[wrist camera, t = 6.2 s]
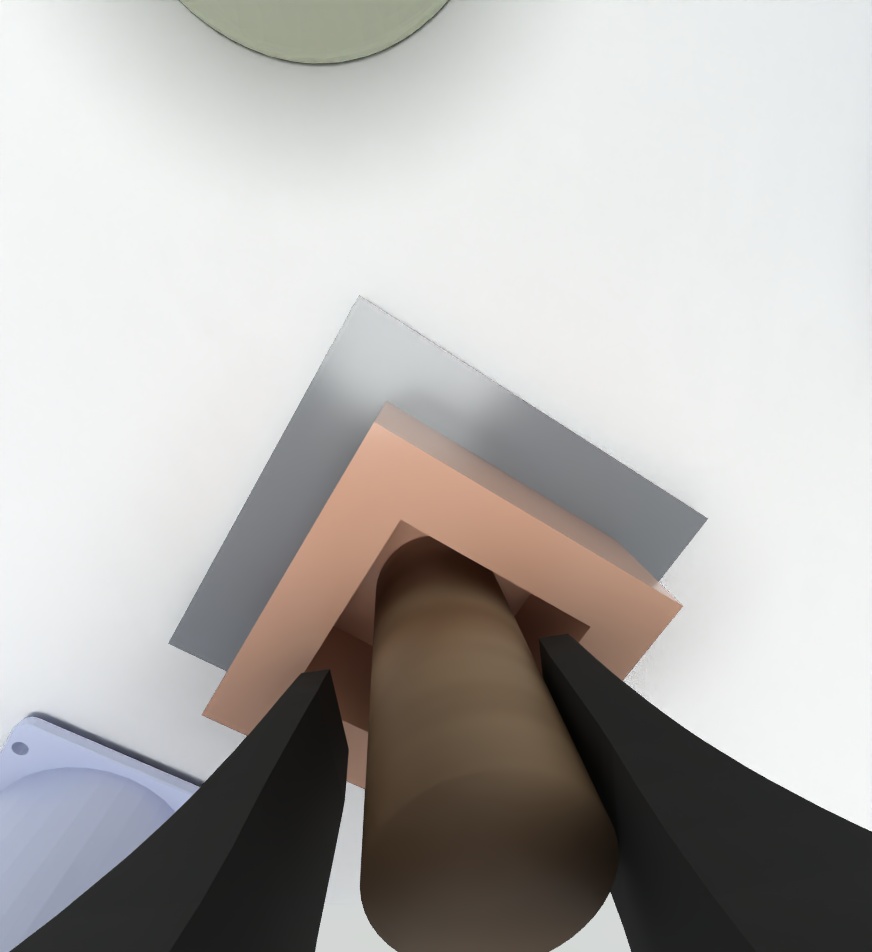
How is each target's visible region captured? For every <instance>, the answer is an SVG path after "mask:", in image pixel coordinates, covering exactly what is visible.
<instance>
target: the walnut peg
mask: <svg viewBox="0 0 872 952" xmlns="http://www.w3.org/2000/svg"><path fill="white" fill-rule="evenodd" d="M618 858H619V851H618V841H617V837H616V833H615V829H614V827H613V825H612V823H611V821H610V818H609V816H608V814H607V812H606V810H605V808H604V806H603V804H602V801H601V799H600V797H599V795H598V793H597V791H596V789H595V787H594V785H593V782H592V780H591V778H590V776H589V774H588V772H587V770H586V768H585V765H584V763H583V761H582V759H581V757H580V755H579V753H578V751H577V749H576V746H575V744H574V742H573V740H572V738H571V736H570V734H569V732H568V730H567V727H566V725H565V723H564V721H563V719H562V717H561V715H560V713H559V710H558V708H557V706H556V704H555V702H554V700H553V698H552V696H551V694H550V691H549V689H548V687H547V685H546V683H545V681H544V679H543V677H542V674H541V672H540V670H539V668H538V666H537V664H536V662H535V660H534V658H533V655H532V653H531V651H530V649H529V647H528V645H527V643H526V641H525V639H524V636H523V634H522V632H521V630H520V628H519V626H518V624H517V622H516V619H515V617H514V615H513V613H512V611H511V609H510V607H509V605H508V603H507V600H506V598H505V596H504V594H503V592H502V590H501V588H500V586H499V583H498V581H497V579H496V577H495V575H494V573H493V571H491V570H489V569H487V568H486V567H484V566H482V565H480V564H478V563H477V562H475V561H473V560H471V559H470V558H468V557H466V556H464V555H463V554H461V553H459V552H457V551H455V550H454V549H452V548H450V547H448V546H447V545H445V544H443V543H441V542H440V541H438V540H436V539H434V538H432V537H431V536H427V537H422V538H419V539H416V540H413V541H411V542H409V543H407V544H405V545H404V546H402V547H400V548H399V549H398V550H397V551H395V552H394V553H393V554H392V555H391V556H390V557H389V558H388V560H387V561H386V563H385V564H384V566H383V568H382V569H381V571H380V574H379V577H378V580H377V585H376V598H375V616H374V635H373V653H372V672H371V690H370V709H369V727H368V746H367V764H366V783H365V801H364V820H363V838H362V857H361V875H360V892H361V901H362V904H363V908H364V911H365V914H366V916H367V918H368V920H369V922H370V924H371V925H372V927H373V928H374V929H375V931H376V932H377V934H378V935H379V936H380V937H381V938H382V939H383V940H384V941H385V942H386V943H387V944H388V945H389V946H391V947H392V948H393V949H395V950H396V951H397V952H549V951H551V950H553V949H555V948H556V947H558V946H560V945H561V944H563V943H564V942H566V941H567V940H569V939H570V938H572V937H573V936H574V935H575V934H576V933H578V932H579V931H580V930H581V929H582V928H583V927H585V925H586V924H587V923H588V922H589V921H590V920H591V919H592V918H593V917H594V916H595V915H596V913H597V912H598V910H599V909H600V908H601V906H602V905H603V903H604V902H605V900H606V898H607V896H608V894H609V893H610V891H611V888H612V885H613V883H614V880H615V877H616V872H617V868H618Z"/></svg>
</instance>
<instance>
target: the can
mask: <svg viewBox="0 0 872 952" xmlns="http://www.w3.org/2000/svg"><path fill="white" fill-rule="evenodd" d="M180 1H181V2H182V3H183V4H184V5H185V6H186V7H187V8H188V9H189V10H190V11H191V12H192V13H194V14H195V15H196V16H197V17H199V18H200V19H201V20H203V21H204V22H205V23H206V24H208V25H209V26H211V27H212V28H214V29H215V30H217V31H218V32H220V33H221V34H223V35H225V36H226V37H228V38H229V39H231V40H233V41H235V42H237V43H239V44H241V45H243V46H245V47H247V48H250V49H252V50H255V51H257V52H260V53H263V54H265V55H268V56H271V57H276V58H280V59H284V60H289V61H294V62H303V63H311V64H312V63H335V62H344V61H348V60H353V59H357V58H361V57H366V56H369V55H371V54H374V53H377V52H379V51H382V50H384V49H386V48H388V47H390V46H392V45H394V44H396V43H398V42H399V41H401V40H403V39H405V38H406V37H408V36H409V35H410V34H412V33H413V32H415V31H416V30H417V29H419V28H420V27H421V26H423V25H424V24H425V23H426V22H427V21H428V20H429V19H430V18H432V17H433V16H434V15H435V14H436V13H437V12H438V11H439V10H440V9H441V8H442V7H443V5H444V4H445V3H446V2H447V1H448V0H180Z"/></svg>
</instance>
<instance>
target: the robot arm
mask: <svg viewBox="0 0 872 952" xmlns="http://www.w3.org/2000/svg"><path fill="white" fill-rule="evenodd" d="M539 646H540V656H541V666H542V675H543V679H544V681H545V683H546V685H547V687H548V689H549V691H550V694H551V696H552V698H553V700H554V702H555V704H556V706H557V708H558V710H559V713H560V715H561V717H562V719H563V721H564V723H565V725H566V727H567V730H568V732H569V734H570V736H571V738H572V740H573V742H574V744H575V746H576V749H577V751H578V753H579V755H580V757H581V759H582V761H583V763H584V765H585V768H586V770H587V772H588V774H589V776H590V778H591V780H592V782H593V785H594V787H595V789H596V791H597V793H598V795H599V797H600V799H601V801H602V804H603V806H604V808H605V810H606V812H607V814H608V816H609V818H610V821H611V823H612V825H613V827H614V829H615V833H616V837H617V841H618V851H619V858H618V868H617V872H616V877H615V880H614V883H613V885H612V888H611V891H610V892H611V894H612V897H613V900H614V902H615V905H616V908H617V911H618V913H619V916H620V918H621V922H622V924H623V927H624V930H625V933H626V936H627V939H628V943H629V946H630V949H631V952H872V832H871V831H869V830H867V829H865V828H862V827H860V826H858V825H856V824H854V823H852V822H850V821H848V820H846V819H844V818H842V817H840V816H838V815H836V814H834V813H831V812H829V811H827V810H825V809H823V808H821V807H819V806H817V805H815V804H814V803H812V802H810V801H808V800H806V799H804V798H802V797H800V796H798V795H797V794H795V793H793V792H791V791H789V790H787V789H785V788H783V787H781V786H780V785H778V784H776V783H774V782H772V781H770V780H768V779H767V778H765V777H763V776H761V775H760V774H758V773H756V772H754V771H753V770H751V769H749V768H747V767H746V766H744V765H742V764H741V763H739V762H737V761H736V760H734V759H732V758H731V757H729V756H728V755H726V754H724V753H723V752H721V751H719V750H718V749H716V748H715V747H713V746H711V745H710V744H708V743H706V742H705V741H703V740H702V739H700V738H699V737H697V736H696V735H694V734H693V733H691V732H690V731H688V730H687V729H685V728H684V727H682V726H681V725H680V724H678V723H677V722H675V721H674V720H673V719H671V718H670V717H668V716H667V715H666V714H664V713H663V712H662V711H660V710H659V709H658V708H656V707H655V706H654V705H652V704H651V703H650V702H648V701H647V700H646V699H645V698H643V697H642V696H641V695H640V694H638V693H637V692H636V691H635V690H633V689H632V688H631V687H630V686H628V685H627V684H626V683H625V682H623V681H622V680H621V679H620V678H618V677H617V676H616V675H615V674H614V673H613V672H611V671H610V670H609V669H608V668H607V667H606V666H604V665H603V664H602V663H601V662H600V661H599V660H597V659H596V658H595V657H594V656H593V655H592V654H591V653H590V652H588V651H587V650H586V649H585V648H584V647H583V646H582V645H581V644H580V643H579V642H577V641H576V640H575V639H574V638H573V637H572V636H570V635H569V634H563V635H556V636H549V637H542V638H539ZM348 755H349V748H348V744H347V739H346V735H345V731H344V727H343V722H342V718H341V714H340V710H339V705H338V701H337V697H336V692H335V688H334V684H333V680H332V675H331V671H330V669H326V670H319V671H312V672H306V673H301V674H300V675H299V676H298V677H297V678H296V679H295V681H294V682H293V683H292V684H291V685H290V686H289V688H288V689H287V690H286V691H285V692H284V693H283V695H282V696H281V697H280V698H279V699H278V701H277V702H276V703H275V704H274V705H273V707H272V708H271V709H270V710H269V711H268V713H267V714H266V715H265V716H264V717H263V718H262V720H261V721H260V722H259V723H258V724H257V725H256V727H255V728H254V729H253V730H252V731H251V732H250V733H249V735H248V736H247V737H246V738H245V739H244V740H243V742H242V743H241V744H240V745H239V746H238V747H237V748H236V750H235V751H234V752H233V753H232V754H231V755H230V756H229V757H228V758H227V759H226V760H225V761H224V762H223V763H222V764H221V766H220V767H219V768H218V769H217V770H216V771H215V772H214V773H213V774H212V775H211V776H210V777H209V778H208V779H207V780H206V781H205V783H204V784H203V785H202V786H201V787H199V786H196V785H194V784H192V783H189V782H187V781H185V780H182V779H180V778H178V777H175V776H173V775H171V774H168V773H166V772H164V771H161V770H159V769H157V768H154V767H152V766H150V765H147V764H145V763H143V762H140V761H138V760H136V759H133V758H131V757H129V756H126V755H124V754H122V753H119V752H117V751H115V750H112V749H110V748H108V747H105V746H103V745H101V744H98V743H96V742H94V741H91V740H89V739H87V738H84V737H82V736H80V735H77V734H75V733H73V732H70V731H68V730H66V729H63V728H61V727H59V726H56V725H54V724H52V723H49V722H47V721H45V720H42V719H40V718H36V717H27V718H24V719H22V720H21V721H20V722H19V723H18V724H17V725H16V726H15V727H14V728H13V729H12V730H11V732H10V734H9V737H8V739H7V741H6V743H5V745H4V747H3V749H2V751H1V753H0V952H315V947H316V942H317V937H318V931H319V927H320V922H321V917H322V912H323V907H324V902H325V897H326V892H327V887H328V882H329V877H330V872H331V868H332V863H333V858H334V853H335V848H336V843H337V838H338V833H339V827H340V822H341V817H342V812H343V807H344V801H345V790H346V780H347V767H348Z"/></svg>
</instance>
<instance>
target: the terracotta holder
mask: <svg viewBox="0 0 872 952" xmlns="http://www.w3.org/2000/svg"><path fill="white" fill-rule="evenodd" d="M707 519H708V518H706V517H705V516H703V515H701V514H700V513H698V512H697V511H695V510H694V509H692V508H691V507H689V506H687V505H686V504H684V503H683V502H681V501H680V500H678V499H676V498H675V497H673V496H672V495H670V494H669V493H667V492H666V491H664V490H662V489H661V488H659V487H658V486H656V485H655V484H653V483H652V482H650V481H648V480H647V479H645V478H644V477H642V476H641V475H639V474H637V473H636V472H634V471H633V470H631V469H630V468H628V467H627V466H625V465H623V464H622V463H620V462H619V461H617V460H616V459H614V458H612V457H611V456H609V455H608V454H606V453H605V452H603V451H602V450H600V449H598V448H597V447H595V446H594V445H592V444H591V443H589V442H587V441H586V440H584V439H583V438H581V437H580V436H578V435H577V434H575V433H573V432H572V431H570V430H569V429H567V428H566V427H564V426H562V425H561V424H559V423H558V422H556V421H555V420H553V419H552V418H550V417H548V416H547V415H545V414H544V413H542V412H541V411H539V410H537V409H536V408H534V407H533V406H531V405H530V404H528V403H527V402H525V401H523V400H522V399H520V398H519V397H517V396H516V395H514V394H513V393H511V392H509V391H508V390H506V389H505V388H503V387H502V386H500V385H498V384H497V383H495V382H494V381H492V380H491V379H489V378H488V377H486V376H484V375H483V374H481V373H480V372H478V371H477V370H475V369H473V368H472V367H470V366H469V365H467V364H466V363H464V362H463V361H461V360H459V359H458V358H456V357H455V356H453V355H452V354H450V353H448V352H447V351H445V350H444V349H442V348H441V347H439V346H438V345H436V344H434V343H433V342H431V341H430V340H428V339H427V338H425V337H423V336H422V335H420V334H419V333H417V332H416V331H414V330H413V329H411V328H409V327H408V326H406V325H405V324H403V323H402V322H400V321H399V320H397V319H395V318H394V317H392V316H391V315H389V314H388V313H386V312H384V311H383V310H381V309H380V308H378V307H377V306H375V305H374V304H372V303H370V302H369V301H367V300H366V299H364V298H363V297H361V296H358V298H357V300H356V302H355V304H354V305H353V307H352V309H351V311H350V313H349V315H348V316H347V318H346V320H345V322H344V324H343V326H342V327H341V329H340V331H339V333H338V335H337V336H336V338H335V340H334V342H333V344H332V346H331V347H330V349H329V351H328V353H327V355H326V357H325V358H324V360H323V362H322V364H321V366H320V367H319V369H318V371H317V373H316V375H315V377H314V378H313V380H312V382H311V384H310V386H309V388H308V389H307V391H306V393H305V395H304V397H303V399H302V400H301V402H300V404H299V406H298V408H297V409H296V411H295V413H294V415H293V417H292V419H291V420H290V422H289V424H288V426H287V428H286V430H285V431H284V433H283V435H282V437H281V439H280V440H279V442H278V444H277V446H276V448H275V450H274V451H273V453H272V455H271V457H270V459H269V461H268V462H267V464H266V466H265V468H264V470H263V472H262V473H261V475H260V477H259V479H258V481H257V482H256V484H255V486H254V488H253V490H252V492H251V493H250V495H249V497H248V499H247V501H246V503H245V504H244V506H243V508H242V510H241V512H240V513H239V515H238V517H237V519H236V521H235V523H234V524H233V526H232V528H231V530H230V532H229V534H228V535H227V537H226V539H225V541H224V543H223V545H222V546H221V548H220V550H219V552H218V554H217V555H216V557H215V559H214V561H213V563H212V565H211V566H210V568H209V570H208V572H207V574H206V576H205V577H204V579H203V581H202V583H201V585H200V586H199V588H198V590H197V592H196V594H195V596H194V597H193V599H192V601H191V603H190V605H189V607H188V608H187V610H186V612H185V614H184V616H183V618H182V619H181V621H180V623H179V625H178V627H177V628H176V630H175V632H174V634H173V636H172V638H171V639H170V641H169V643H168V644H171V645H173V646H175V647H177V648H179V649H181V650H183V651H185V652H187V653H190V654H192V655H194V656H196V657H198V658H200V659H202V660H204V661H206V662H208V663H211V664H213V665H215V666H217V667H219V668H221V669H223V670H225V671H227V673H226V674H225V676H224V678H223V680H222V681H221V683H220V685H219V686H218V688H217V690H216V691H215V693H214V695H213V697H212V698H211V700H210V702H209V703H208V705H207V707H206V708H205V710H204V712H203V713H202V715H203V716H205V717H207V718H209V719H211V720H214V721H216V722H218V723H220V724H222V725H225V726H227V727H229V728H231V729H233V730H236V731H238V732H240V733H242V734H244V735H247V736H248V735H249V733H250V732H251V731H252V730H253V729H254V728H255V727H256V725H257V724H258V723H259V722H260V721H261V720H262V718H263V717H264V716H265V715H266V714H267V713H268V711H269V710H270V709H271V708H272V707H273V705H274V704H275V703H276V702H277V701H278V699H279V698H280V697H281V696H282V695H283V693H284V692H285V691H286V690H287V689H288V688H289V686H290V685H291V684H292V683H293V682H294V681H295V679H296V678H297V677H298V676H299V675H300V674H301V673H306V672H312V671H319V670H326V669H330V671H331V675H332V680H333V684H334V688H335V692H336V697H337V701H338V705H339V710H340V714H341V718H342V722H343V727H344V731H345V735H346V739H347V744H348V748H349V755H348V767H347V780H346V781H348V782H350V783H352V784H354V785H356V786H359V787H361V788H363V789H365V783H366V764H367V746H368V727H369V709H370V690H371V672H372V653H373V635H374V616H375V598H376V585H377V580H378V577H379V574H380V571H381V569H382V568H383V566H384V564H385V563H386V561H387V560H388V558H389V557H390V556H391V555H392V554H393V553H394V552H395V551H397V550H398V549H399V548H400V547H402V546H404V545H405V544H407V543H409V542H411V541H413V540H416V539H419V538H422V537H427V536H431V537H432V538H434V539H436V540H438V541H440V542H441V543H443V544H445V545H447V546H448V547H450V548H452V549H454V550H455V551H457V552H459V553H461V554H463V555H464V556H466V557H468V558H470V559H471V560H473V561H475V562H477V563H478V564H480V565H482V566H484V567H486V568H487V569H489V570H491V571H493V573H494V575H495V577H496V579H497V581H498V583H499V586H500V588H501V590H502V592H503V594H504V596H505V598H506V600H507V603H508V605H509V607H510V609H511V611H512V613H513V615H514V617H515V619H516V622H517V624H518V626H519V628H520V630H521V632H522V634H523V636H524V639H525V641H526V643H527V645H528V647H529V649H530V651H531V653H532V655H533V658H534V660H535V662H536V664H537V666H538V668H539V670H540V672H541V674H542V666H541V656H540V646H539V638H542V637H549V636H556V635H563V634H569V635H570V636H572V637H573V638H574V639H575V640H576V641H577V642H579V643H580V644H581V645H582V646H583V647H584V648H585V649H586V650H587V651H588V652H590V653H591V654H592V655H593V656H594V657H595V658H596V659H597V660H599V661H600V662H601V663H602V664H603V665H604V666H606V667H607V668H608V669H609V670H610V671H611V672H613V673H614V674H615V675H616V676H617V677H618V678H620V679H621V680H622V681H623V680H624V678H625V677H626V676H627V675H628V673H629V672H630V671H631V670H632V669H633V667H634V666H635V665H636V664H637V662H638V661H639V660H640V659H641V657H642V656H643V655H644V654H645V652H646V651H647V650H648V649H649V647H650V646H651V645H652V644H653V643H654V641H655V640H656V639H657V638H658V636H659V635H660V634H661V633H662V631H663V630H664V629H665V628H666V626H667V625H668V624H669V623H670V622H671V620H672V619H673V618H674V617H675V615H676V614H677V613H678V612H679V610H680V609H681V608H682V607H683V605H682V604H681V603H680V602H679V601H678V600H676V599H675V598H674V597H673V596H672V595H671V594H670V593H669V592H668V591H667V590H666V589H665V588H664V587H663V586H662V585H661V584H660V583H659V580H660V579H661V578H662V577H663V575H664V574H665V573H666V572H667V570H668V569H669V568H670V566H671V565H672V564H673V563H674V561H675V560H676V559H677V558H678V556H679V555H680V554H681V552H682V551H683V550H684V549H685V547H686V546H687V545H688V544H689V542H690V541H691V540H692V538H693V537H694V536H695V535H696V533H697V532H698V531H699V530H700V528H701V527H702V526H703V524H704V523H705V522H706V521H707ZM542 677H543V675H542Z"/></svg>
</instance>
